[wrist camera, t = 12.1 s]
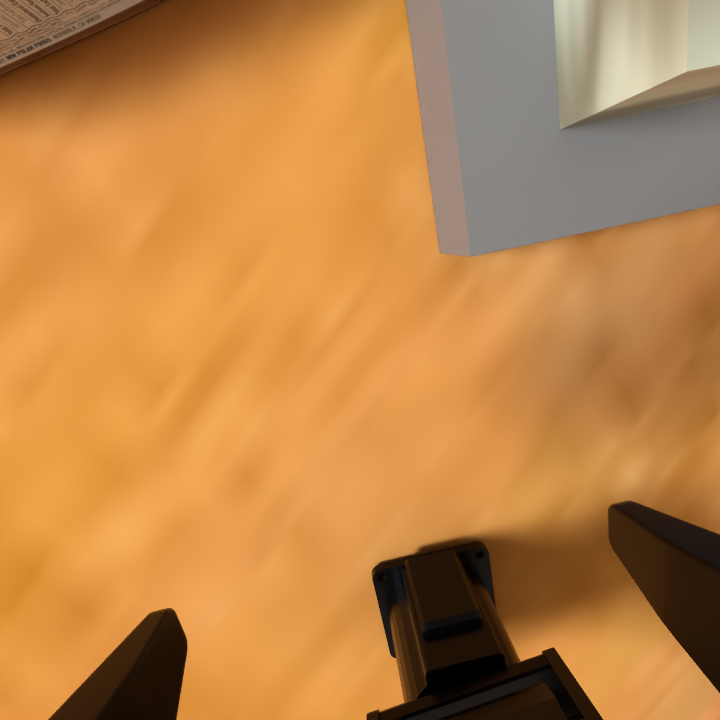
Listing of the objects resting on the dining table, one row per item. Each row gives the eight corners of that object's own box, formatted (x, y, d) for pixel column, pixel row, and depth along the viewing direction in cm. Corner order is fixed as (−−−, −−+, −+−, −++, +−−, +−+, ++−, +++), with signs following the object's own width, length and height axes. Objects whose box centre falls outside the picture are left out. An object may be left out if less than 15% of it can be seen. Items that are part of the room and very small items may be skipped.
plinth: (694, 199, 19) (789, 189, 15) (439, 253, 19) (470, 257, 15) (707, -139, 15) (835, -264, 12) (394, -81, 15) (418, -190, 11)
